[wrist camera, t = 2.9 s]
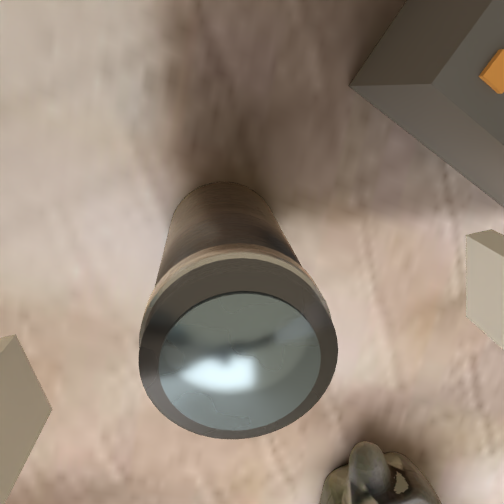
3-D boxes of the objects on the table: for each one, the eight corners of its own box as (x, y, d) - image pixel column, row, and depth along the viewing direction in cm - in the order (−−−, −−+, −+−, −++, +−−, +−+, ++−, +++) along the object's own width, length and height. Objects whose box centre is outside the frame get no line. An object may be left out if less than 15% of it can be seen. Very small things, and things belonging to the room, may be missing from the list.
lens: (147, 251, 20) (94, 401, 10) (205, 157, 18) (205, 229, 9) (239, 301, 21) (268, 472, 12) (298, 217, 20) (385, 333, 10)
